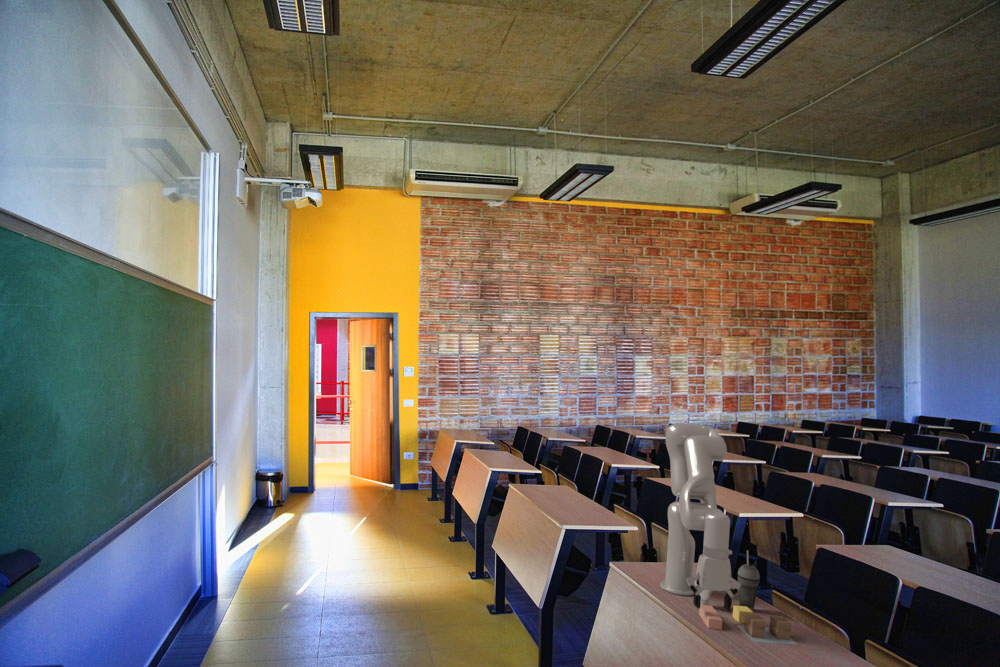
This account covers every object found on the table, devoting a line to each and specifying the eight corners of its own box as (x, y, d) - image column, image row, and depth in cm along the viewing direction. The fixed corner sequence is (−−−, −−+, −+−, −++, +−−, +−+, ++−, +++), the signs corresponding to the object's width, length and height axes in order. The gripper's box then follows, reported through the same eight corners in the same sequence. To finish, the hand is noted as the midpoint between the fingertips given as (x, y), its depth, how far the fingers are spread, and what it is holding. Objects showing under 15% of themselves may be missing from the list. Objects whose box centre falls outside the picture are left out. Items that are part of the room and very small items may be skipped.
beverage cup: (746, 616, 202) (750, 555, 203) (729, 607, 208) (734, 548, 209) (762, 614, 205) (766, 554, 205) (745, 605, 211) (750, 547, 212)
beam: (698, 617, 198) (699, 604, 198) (710, 618, 198) (711, 605, 198) (708, 631, 187) (709, 618, 187) (721, 633, 187) (722, 620, 187)
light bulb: (691, 609, 204) (694, 573, 204) (692, 602, 210) (695, 567, 211) (713, 613, 201) (716, 577, 202) (713, 606, 208) (716, 571, 208)
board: (736, 627, 191) (736, 625, 192) (779, 630, 192) (779, 628, 192) (752, 644, 180) (752, 641, 181) (798, 647, 181) (798, 644, 181)
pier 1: (743, 629, 189) (745, 613, 189) (756, 630, 189) (757, 614, 189) (751, 637, 184) (752, 620, 184) (764, 638, 184) (765, 621, 184)
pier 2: (768, 631, 189) (770, 615, 189) (781, 632, 189) (782, 616, 189) (777, 638, 184) (778, 622, 184) (789, 639, 184) (791, 623, 184)
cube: (732, 619, 198) (733, 605, 198) (745, 620, 199) (746, 606, 199) (738, 625, 194) (739, 611, 194) (752, 626, 194) (753, 612, 194)
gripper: (736, 551, 197) (733, 605, 196) (684, 547, 197) (681, 601, 195) (747, 558, 190) (744, 614, 189) (693, 554, 189) (689, 610, 188)
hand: (712, 608), depth 192 cm, fingers open, 9 cm apart
